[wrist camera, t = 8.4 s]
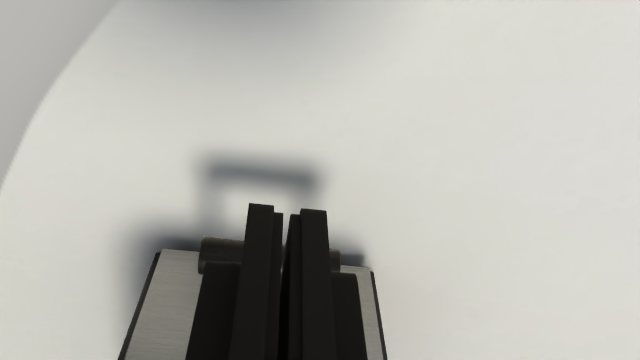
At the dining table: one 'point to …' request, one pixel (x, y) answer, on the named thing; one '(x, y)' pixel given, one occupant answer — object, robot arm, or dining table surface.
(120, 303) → the dining table surface
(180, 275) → the drawer
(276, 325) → the robot arm
